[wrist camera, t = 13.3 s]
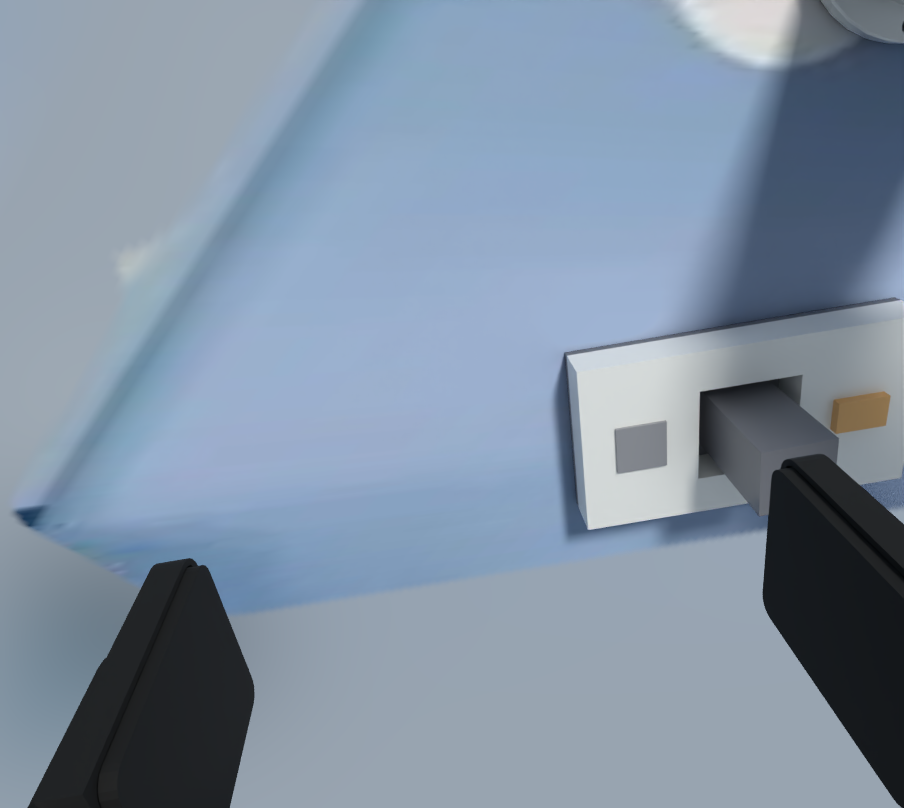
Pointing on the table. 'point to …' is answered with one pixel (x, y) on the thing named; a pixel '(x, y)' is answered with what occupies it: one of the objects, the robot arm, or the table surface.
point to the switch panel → (718, 366)
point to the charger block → (758, 436)
